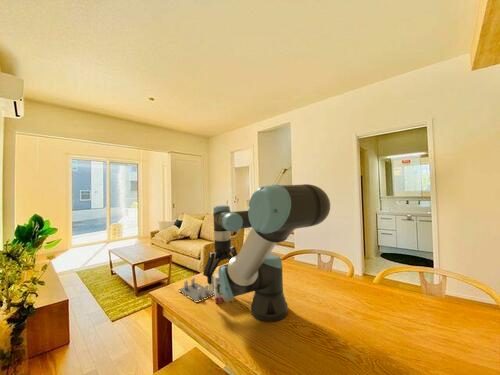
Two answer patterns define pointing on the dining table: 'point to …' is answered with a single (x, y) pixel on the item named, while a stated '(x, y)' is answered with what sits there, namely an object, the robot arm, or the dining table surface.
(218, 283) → the ink box
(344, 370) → the dining table surface
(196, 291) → the pin tray
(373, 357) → the dining table surface
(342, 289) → the dining table surface
